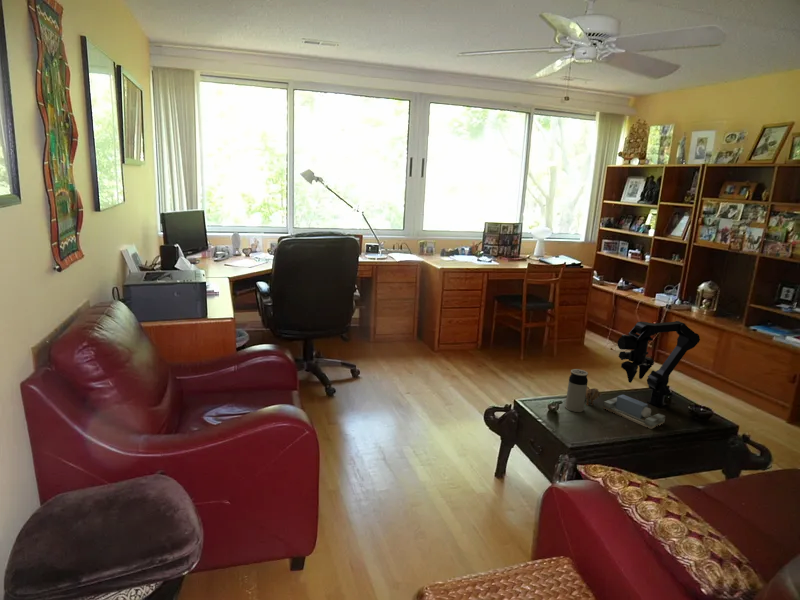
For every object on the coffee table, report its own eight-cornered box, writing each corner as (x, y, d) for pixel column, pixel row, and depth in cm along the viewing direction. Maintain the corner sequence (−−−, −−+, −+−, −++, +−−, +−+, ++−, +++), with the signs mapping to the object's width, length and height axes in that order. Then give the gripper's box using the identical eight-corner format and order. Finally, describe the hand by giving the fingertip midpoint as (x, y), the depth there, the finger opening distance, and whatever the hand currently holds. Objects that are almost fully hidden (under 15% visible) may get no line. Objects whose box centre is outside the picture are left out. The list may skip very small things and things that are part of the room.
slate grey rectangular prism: (620, 406, 235) (622, 394, 234) (649, 418, 224) (652, 405, 223) (615, 408, 233) (617, 396, 231) (644, 420, 222) (646, 407, 220)
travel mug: (584, 413, 228) (590, 376, 224) (566, 411, 229) (571, 373, 225) (582, 406, 235) (587, 369, 231) (564, 404, 237) (569, 367, 233)
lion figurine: (600, 408, 235) (603, 390, 233) (590, 408, 234) (593, 390, 232) (583, 395, 249) (586, 378, 247) (574, 395, 248) (576, 378, 246)
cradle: (616, 403, 241) (617, 396, 240) (664, 423, 222) (665, 416, 222) (602, 408, 234) (603, 401, 234) (650, 429, 216) (652, 421, 215)
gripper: (634, 341, 247) (629, 371, 250) (613, 347, 236) (608, 378, 239) (656, 348, 238) (651, 379, 242) (635, 354, 227) (630, 386, 231)
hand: (635, 380), depth 239 cm, fingers open, 9 cm apart
